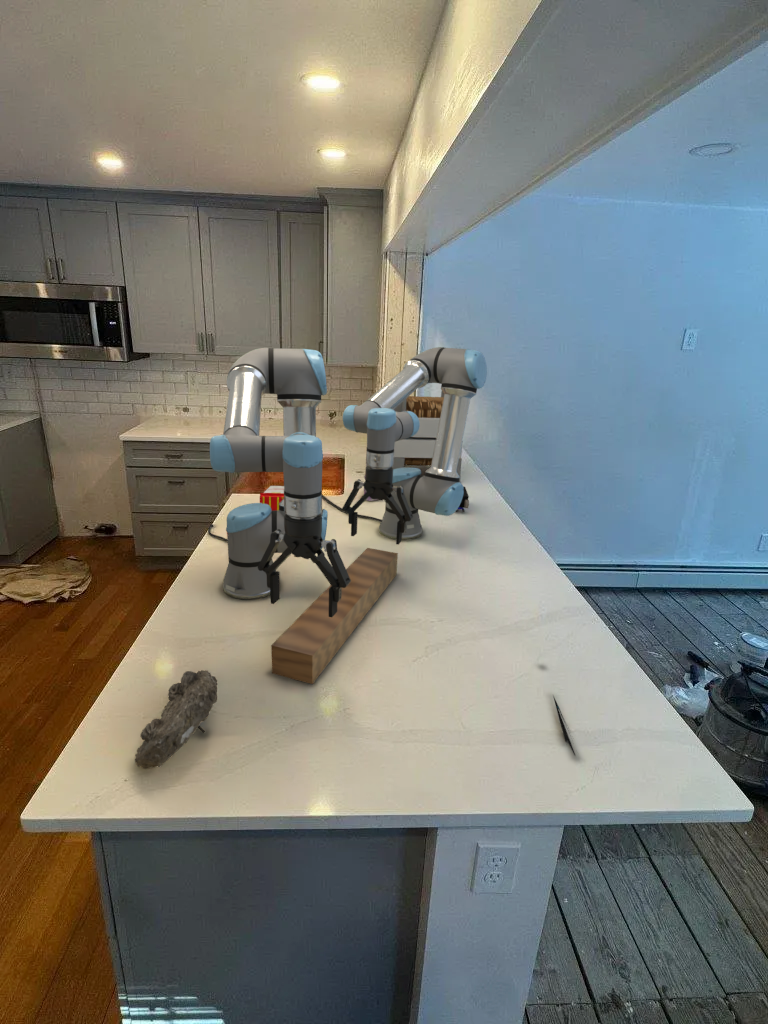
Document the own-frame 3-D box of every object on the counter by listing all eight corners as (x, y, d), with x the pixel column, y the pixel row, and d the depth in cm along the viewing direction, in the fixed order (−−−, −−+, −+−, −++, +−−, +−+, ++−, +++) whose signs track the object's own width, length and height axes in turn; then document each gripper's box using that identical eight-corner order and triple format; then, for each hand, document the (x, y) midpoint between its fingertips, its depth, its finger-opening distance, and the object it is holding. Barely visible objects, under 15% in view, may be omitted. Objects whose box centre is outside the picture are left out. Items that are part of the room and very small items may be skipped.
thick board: (366, 568, 172) (367, 547, 170) (396, 574, 169) (397, 553, 167) (271, 673, 122) (271, 645, 119) (312, 684, 119) (312, 655, 116)
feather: (542, 671, 128) (548, 665, 128) (575, 760, 102) (582, 753, 101) (536, 667, 128) (542, 661, 128) (567, 755, 102) (574, 748, 101)
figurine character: (469, 517, 223) (463, 501, 236) (471, 500, 219) (465, 484, 233) (452, 516, 222) (447, 500, 236) (454, 499, 219) (449, 483, 232)
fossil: (167, 671, 114) (219, 638, 109) (200, 702, 116) (252, 671, 112) (109, 762, 94) (169, 727, 89) (151, 796, 97) (212, 765, 92)
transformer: (382, 463, 289) (386, 382, 275) (445, 464, 293) (451, 384, 279) (390, 482, 257) (394, 392, 243) (460, 483, 261) (468, 394, 247)
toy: (300, 481, 221) (289, 494, 192) (300, 514, 224) (289, 533, 194) (268, 480, 221) (253, 493, 191) (269, 514, 223) (254, 532, 194)
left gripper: (238, 510, 113) (242, 603, 121) (353, 530, 106) (351, 628, 113) (258, 499, 120) (261, 588, 127) (368, 517, 113) (364, 611, 120)
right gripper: (331, 463, 154) (330, 535, 161) (419, 475, 147) (414, 551, 154) (342, 457, 161) (341, 527, 168) (427, 469, 154) (421, 541, 161)
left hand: (303, 607), depth 120 cm, fingers open, 13 cm apart
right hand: (376, 538), depth 161 cm, fingers open, 13 cm apart
